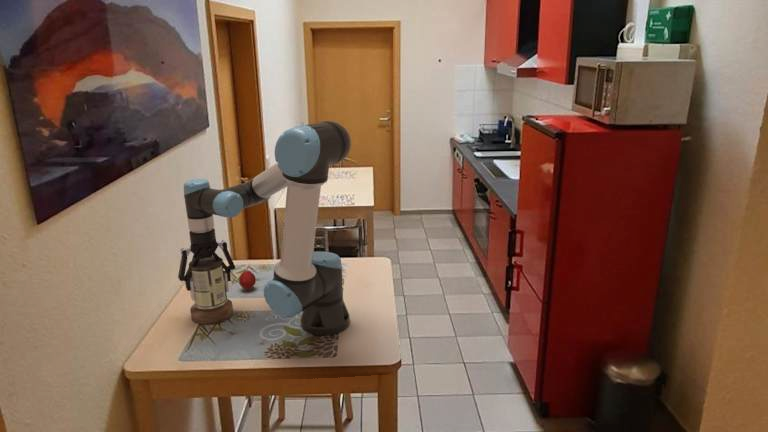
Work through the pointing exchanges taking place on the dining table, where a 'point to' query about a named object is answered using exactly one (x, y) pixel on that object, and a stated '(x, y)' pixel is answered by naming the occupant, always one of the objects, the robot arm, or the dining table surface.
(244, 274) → the red bumpy fruit
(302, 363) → the dining table surface
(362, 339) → the dining table surface
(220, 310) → the pedestal
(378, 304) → the dining table surface
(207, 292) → the coffee can
